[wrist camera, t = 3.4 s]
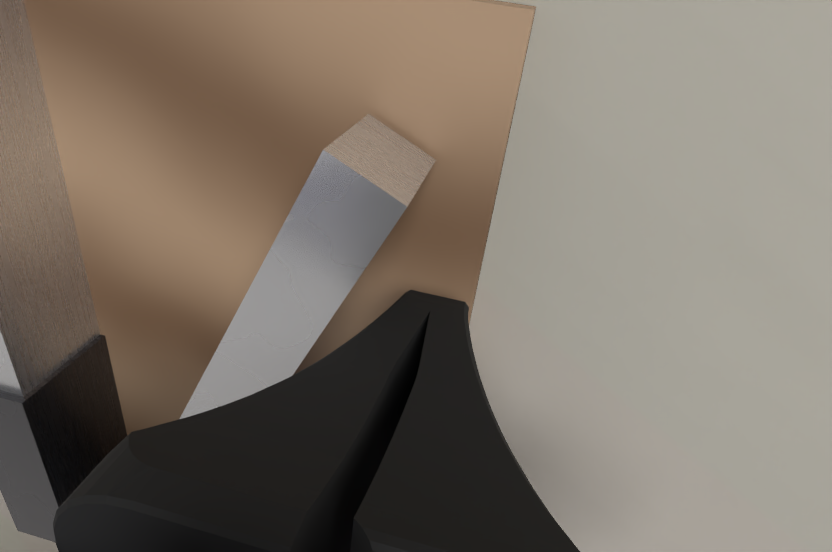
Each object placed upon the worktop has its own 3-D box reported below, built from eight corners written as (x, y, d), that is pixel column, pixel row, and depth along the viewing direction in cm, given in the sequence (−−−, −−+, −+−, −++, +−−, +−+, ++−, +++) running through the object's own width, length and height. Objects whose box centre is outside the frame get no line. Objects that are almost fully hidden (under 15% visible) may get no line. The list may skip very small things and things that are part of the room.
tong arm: (188, 544, 20) (139, 621, 18) (132, 511, 20) (74, 585, 17) (452, 171, 11) (424, 228, 8) (352, 101, 11) (293, 139, 8)
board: (416, 575, 20) (410, 602, 19) (-9, 452, 22) (-31, 471, 21) (535, 6, 10) (534, 10, 9) (-244, -110, 12) (-302, -116, 12)
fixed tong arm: (135, 472, 19) (72, 547, 16) (86, 457, 19) (17, 530, 17) (28, -11, 11) (-123, -6, 9) (-52, -24, 11) (-220, -22, 9)
